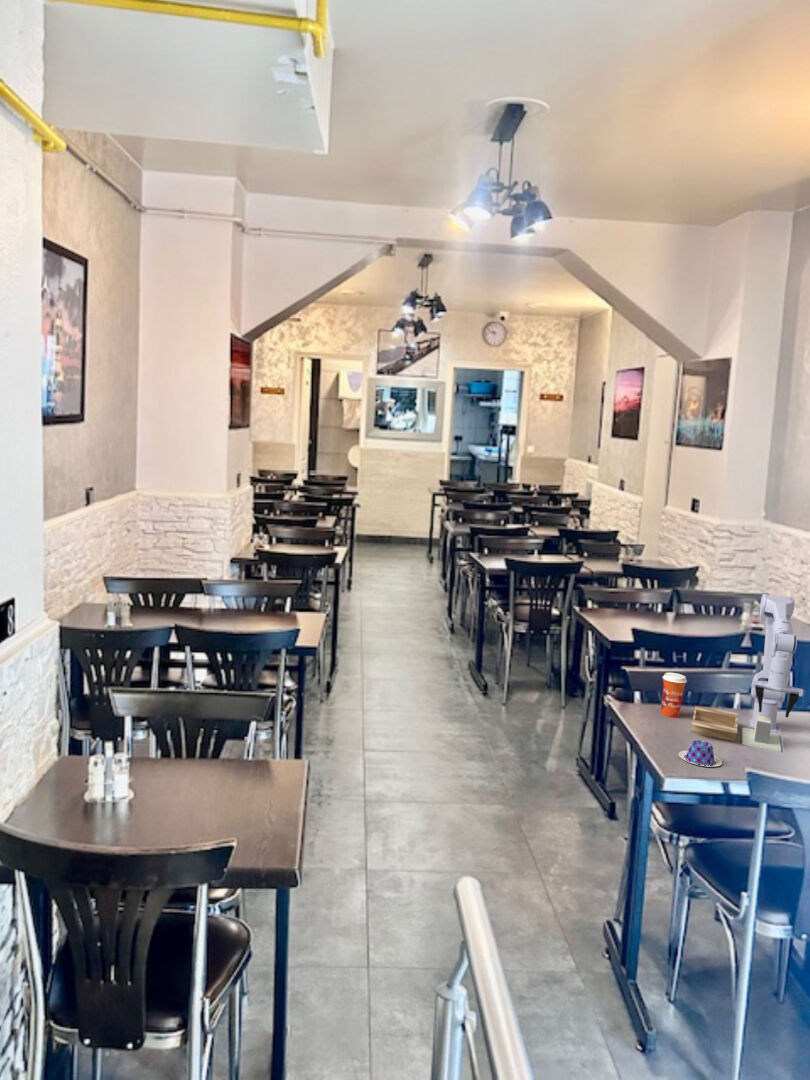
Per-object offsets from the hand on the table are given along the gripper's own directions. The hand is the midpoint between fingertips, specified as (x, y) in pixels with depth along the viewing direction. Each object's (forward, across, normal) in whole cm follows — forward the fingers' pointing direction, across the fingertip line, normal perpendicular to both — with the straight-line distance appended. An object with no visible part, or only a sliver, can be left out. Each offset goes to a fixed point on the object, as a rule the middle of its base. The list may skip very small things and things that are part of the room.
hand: (773, 713), depth 269 cm
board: (+9, -2, 0) cm, 10 cm away
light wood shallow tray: (+9, -16, -1) cm, 19 cm away
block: (+8, -2, -1) cm, 9 cm away
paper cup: (+10, -31, +7) cm, 33 cm away
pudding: (+10, -19, -30) cm, 37 cm away
